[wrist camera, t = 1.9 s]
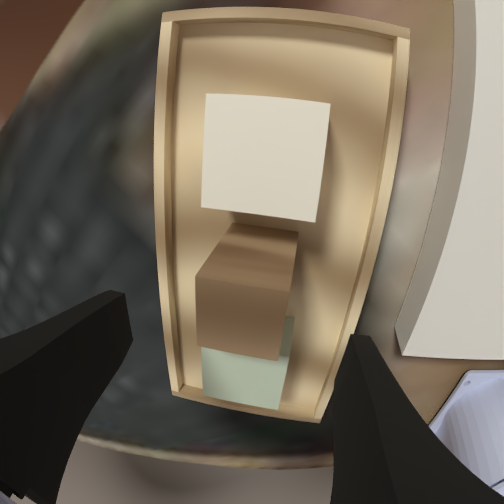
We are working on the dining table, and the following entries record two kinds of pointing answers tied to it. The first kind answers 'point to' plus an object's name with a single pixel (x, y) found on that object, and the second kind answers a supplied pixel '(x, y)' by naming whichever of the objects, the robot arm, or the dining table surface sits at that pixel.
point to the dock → (465, 207)
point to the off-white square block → (263, 155)
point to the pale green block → (247, 374)
